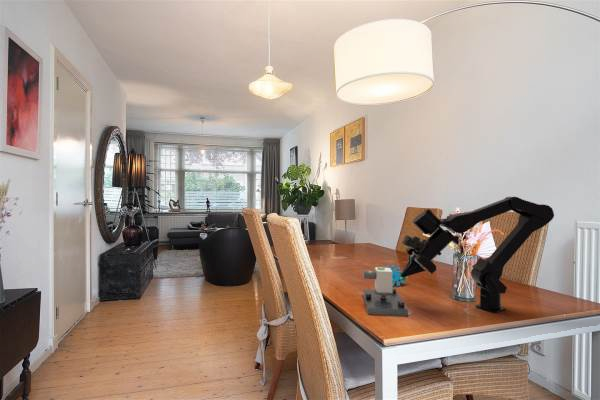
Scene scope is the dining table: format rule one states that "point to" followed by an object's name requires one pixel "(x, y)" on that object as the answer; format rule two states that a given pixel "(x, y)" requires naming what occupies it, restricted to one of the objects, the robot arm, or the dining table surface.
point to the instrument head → (381, 280)
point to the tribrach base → (384, 304)
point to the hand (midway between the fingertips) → (401, 276)
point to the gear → (397, 276)
